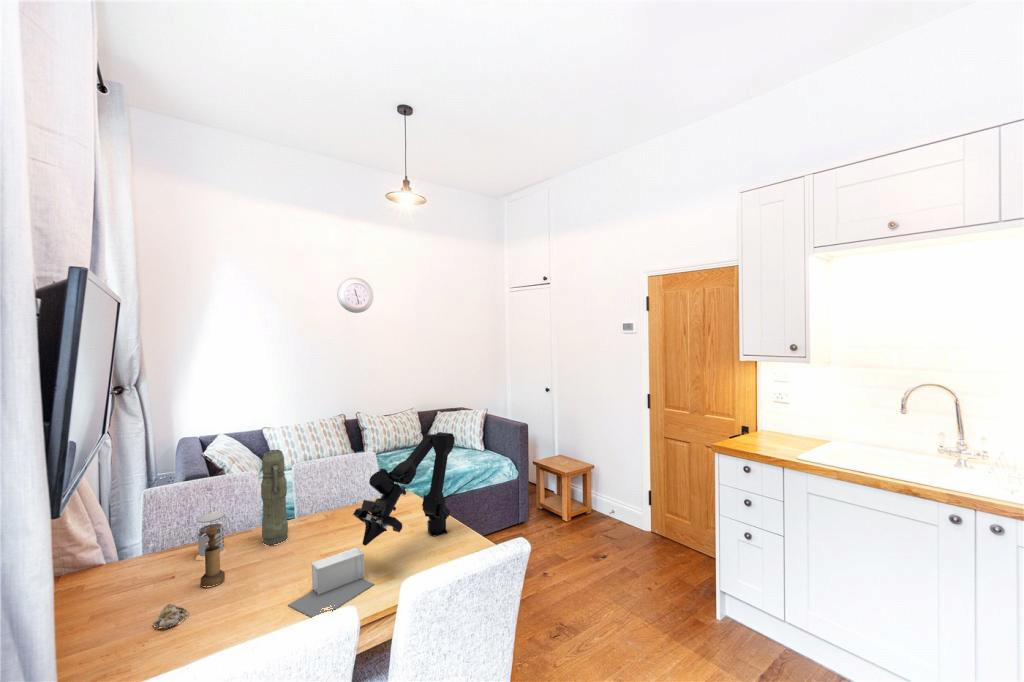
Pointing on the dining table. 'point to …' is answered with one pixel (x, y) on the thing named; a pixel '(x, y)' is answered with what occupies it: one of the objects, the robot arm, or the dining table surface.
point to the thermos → (274, 498)
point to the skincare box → (337, 570)
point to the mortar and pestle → (212, 561)
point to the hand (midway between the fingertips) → (363, 544)
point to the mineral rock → (170, 616)
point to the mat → (329, 598)
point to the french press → (209, 518)
